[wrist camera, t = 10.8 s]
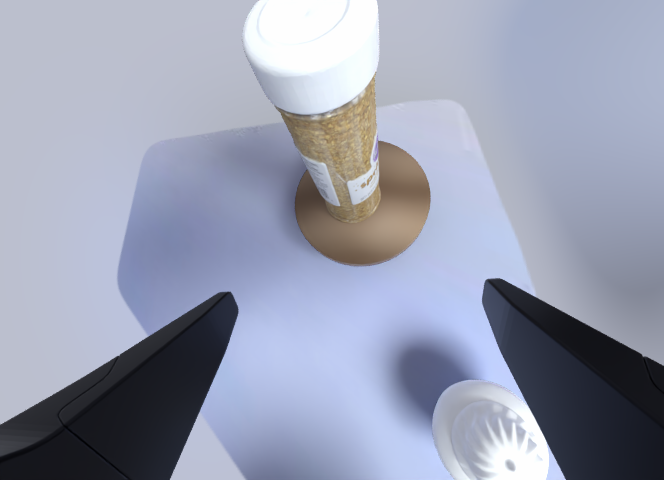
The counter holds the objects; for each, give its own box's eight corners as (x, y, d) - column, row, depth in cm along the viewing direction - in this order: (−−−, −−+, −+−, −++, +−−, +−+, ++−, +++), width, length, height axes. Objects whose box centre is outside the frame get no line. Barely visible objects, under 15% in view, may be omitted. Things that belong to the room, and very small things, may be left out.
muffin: (405, 402, 19) (417, 448, 13) (465, 350, 19) (508, 369, 13) (470, 487, 17) (525, 596, 10) (536, 427, 17) (631, 498, 11)
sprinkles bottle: (386, 217, 19) (394, 37, 7) (329, 230, 20) (238, 86, 7) (374, 167, 21) (362, -59, 8) (321, 180, 21) (233, -12, 9)
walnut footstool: (435, 261, 22) (447, 250, 18) (313, 280, 23) (300, 273, 19) (408, 154, 25) (413, 126, 21) (303, 177, 27) (290, 155, 23)
